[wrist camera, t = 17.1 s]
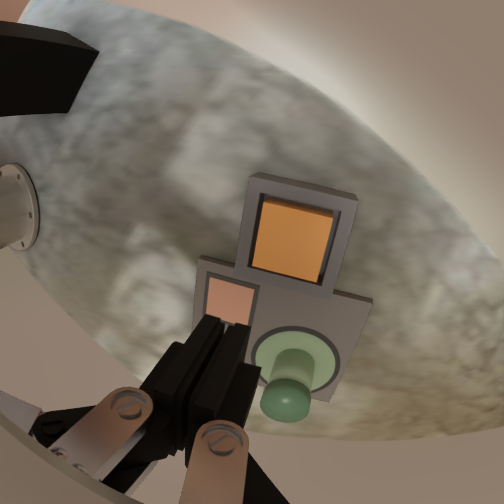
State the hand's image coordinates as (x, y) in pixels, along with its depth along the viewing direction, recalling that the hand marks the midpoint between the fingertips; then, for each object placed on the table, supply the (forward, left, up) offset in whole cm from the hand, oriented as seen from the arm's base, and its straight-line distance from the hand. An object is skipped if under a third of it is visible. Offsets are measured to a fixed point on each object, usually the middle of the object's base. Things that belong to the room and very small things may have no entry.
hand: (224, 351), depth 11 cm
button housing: (+1, 0, -17) cm, 16 cm away
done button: (+1, 0, -15) cm, 15 cm away
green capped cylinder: (+4, -13, -16) cm, 20 cm away
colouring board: (+1, -11, -17) cm, 20 cm away
